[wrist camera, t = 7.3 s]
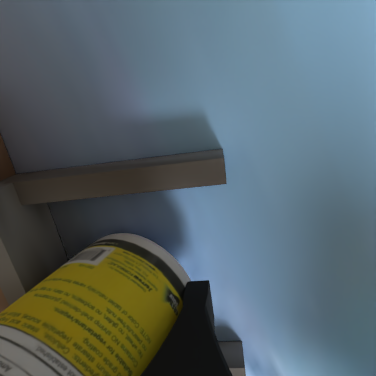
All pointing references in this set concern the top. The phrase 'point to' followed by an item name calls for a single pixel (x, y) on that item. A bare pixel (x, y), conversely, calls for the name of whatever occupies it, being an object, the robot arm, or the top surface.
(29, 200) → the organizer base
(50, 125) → the top surface
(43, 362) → the pill bottle
